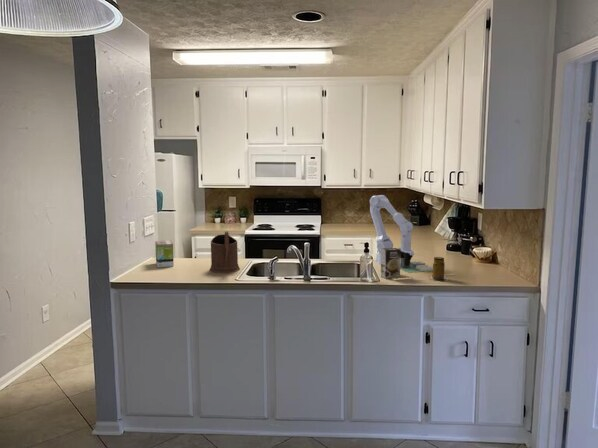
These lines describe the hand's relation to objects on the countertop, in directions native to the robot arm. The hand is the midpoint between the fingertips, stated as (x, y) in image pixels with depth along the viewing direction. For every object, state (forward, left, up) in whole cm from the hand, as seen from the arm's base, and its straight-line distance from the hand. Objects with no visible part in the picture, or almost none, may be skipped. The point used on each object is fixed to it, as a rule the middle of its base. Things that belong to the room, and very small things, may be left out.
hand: (405, 264), depth 263 cm
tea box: (-59, -138, -3) cm, 150 cm away
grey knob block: (-1, +9, -3) cm, 9 cm away
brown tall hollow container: (-31, -103, -3) cm, 108 cm away
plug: (0, 0, -1) cm, 1 cm away
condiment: (+27, +5, -3) cm, 28 cm away
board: (+4, +4, -3) cm, 6 cm away
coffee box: (+14, -18, -3) cm, 23 cm away
